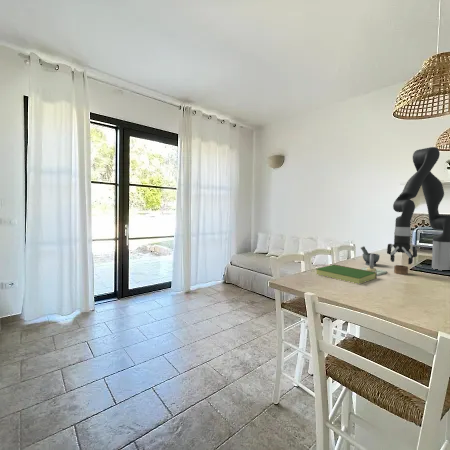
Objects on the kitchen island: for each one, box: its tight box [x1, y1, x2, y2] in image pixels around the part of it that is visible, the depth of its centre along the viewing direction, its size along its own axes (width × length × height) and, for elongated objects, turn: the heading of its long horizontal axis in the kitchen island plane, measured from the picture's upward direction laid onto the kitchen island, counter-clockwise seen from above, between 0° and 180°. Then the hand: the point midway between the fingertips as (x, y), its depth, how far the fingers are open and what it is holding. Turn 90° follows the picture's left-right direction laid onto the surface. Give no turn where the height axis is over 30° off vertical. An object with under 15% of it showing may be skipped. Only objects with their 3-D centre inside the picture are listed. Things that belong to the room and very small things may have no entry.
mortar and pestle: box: [360, 245, 381, 267], centre depth 167 cm, size 11×9×12 cm
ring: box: [393, 264, 409, 276], centre depth 144 cm, size 6×6×4 cm
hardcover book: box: [316, 264, 378, 285], centre depth 139 cm, size 25×19×4 cm
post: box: [360, 253, 388, 276], centre depth 147 cm, size 12×12×11 cm
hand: (401, 262), depth 144 cm, fingers open, 8 cm apart
